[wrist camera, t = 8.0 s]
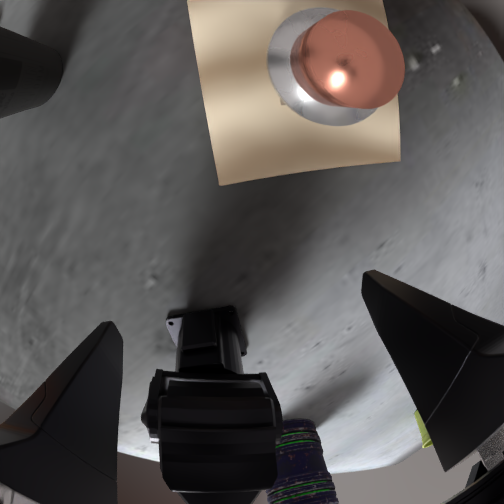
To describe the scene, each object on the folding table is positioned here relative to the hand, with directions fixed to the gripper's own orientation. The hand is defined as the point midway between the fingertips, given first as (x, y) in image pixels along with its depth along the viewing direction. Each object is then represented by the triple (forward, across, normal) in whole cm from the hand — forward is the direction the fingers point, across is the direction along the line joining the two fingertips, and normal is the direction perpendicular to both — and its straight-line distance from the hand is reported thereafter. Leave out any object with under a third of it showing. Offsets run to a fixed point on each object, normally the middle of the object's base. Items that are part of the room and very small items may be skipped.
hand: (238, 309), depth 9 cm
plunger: (+11, -7, -8) cm, 16 cm away
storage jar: (+13, -2, +39) cm, 41 cm away
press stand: (+12, -7, -8) cm, 16 cm away
